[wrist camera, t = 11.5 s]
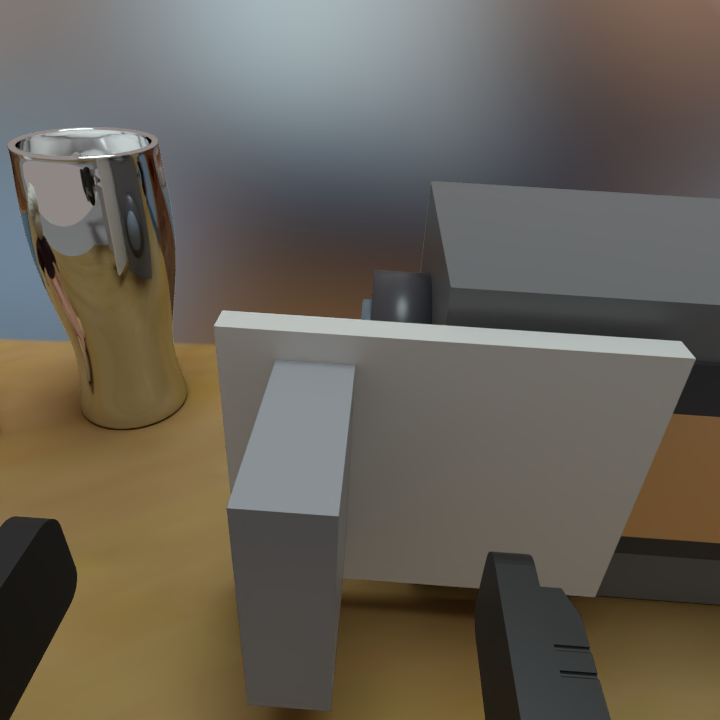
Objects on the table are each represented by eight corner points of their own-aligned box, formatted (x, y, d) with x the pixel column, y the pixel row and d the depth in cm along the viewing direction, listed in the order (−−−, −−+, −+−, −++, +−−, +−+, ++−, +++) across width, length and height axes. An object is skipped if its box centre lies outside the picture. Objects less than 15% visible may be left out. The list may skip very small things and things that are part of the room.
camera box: (702, 433, 35) (820, 183, 27) (831, 617, 25) (1085, 299, 17) (359, 409, 35) (373, 155, 27) (343, 580, 25) (360, 253, 17)
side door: (587, 575, 23) (681, 341, 18) (652, 771, 17) (827, 517, 12) (243, 549, 24) (222, 310, 18) (193, 734, 18) (135, 467, 12)
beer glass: (210, 413, 34) (181, 151, 26) (85, 450, 31) (8, 164, 23) (175, 357, 39) (142, 122, 31) (64, 384, 36) (-5, 130, 28)
